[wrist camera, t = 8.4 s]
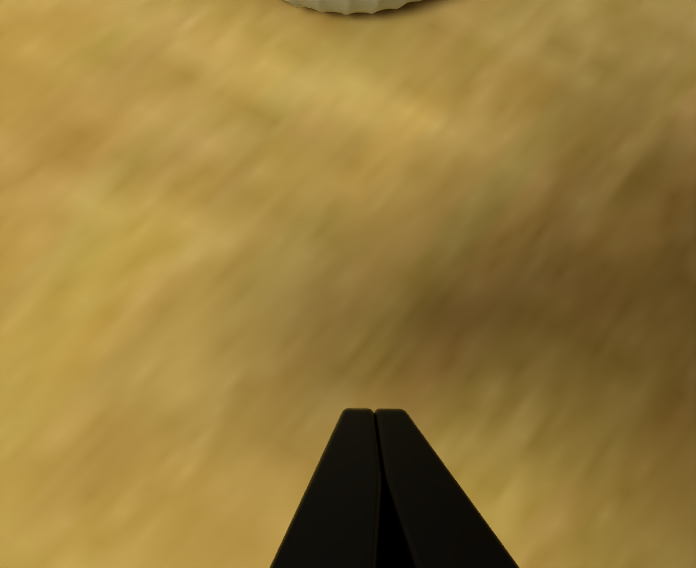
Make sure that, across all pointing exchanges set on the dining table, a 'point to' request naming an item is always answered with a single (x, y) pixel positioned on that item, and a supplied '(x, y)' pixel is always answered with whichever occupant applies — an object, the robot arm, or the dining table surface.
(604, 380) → the dining table surface
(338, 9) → the canister
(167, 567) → the dining table surface
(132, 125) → the dining table surface
